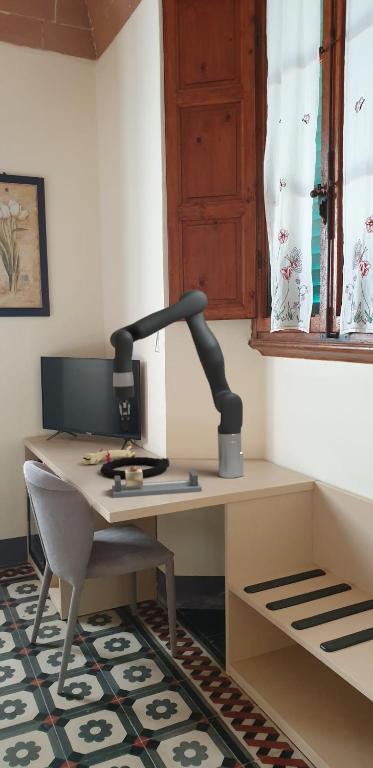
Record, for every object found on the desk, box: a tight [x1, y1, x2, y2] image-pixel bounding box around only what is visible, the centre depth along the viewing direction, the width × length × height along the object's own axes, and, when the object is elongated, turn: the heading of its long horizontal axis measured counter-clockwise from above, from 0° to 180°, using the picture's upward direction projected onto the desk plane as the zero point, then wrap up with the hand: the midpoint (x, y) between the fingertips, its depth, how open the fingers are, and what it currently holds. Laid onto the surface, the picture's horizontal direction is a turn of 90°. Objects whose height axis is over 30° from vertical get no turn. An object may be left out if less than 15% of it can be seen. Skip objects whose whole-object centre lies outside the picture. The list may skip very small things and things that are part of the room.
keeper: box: [124, 465, 144, 487], centre depth 238 cm, size 6×5×7 cm
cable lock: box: [100, 456, 171, 480], centre depth 271 cm, size 28×4×30 cm
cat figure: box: [81, 440, 137, 465], centre depth 291 cm, size 10×9×25 cm
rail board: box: [111, 469, 203, 499], centre depth 240 cm, size 32×12×6 cm, turn 98°
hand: (125, 427), depth 242 cm, fingers open, 8 cm apart
